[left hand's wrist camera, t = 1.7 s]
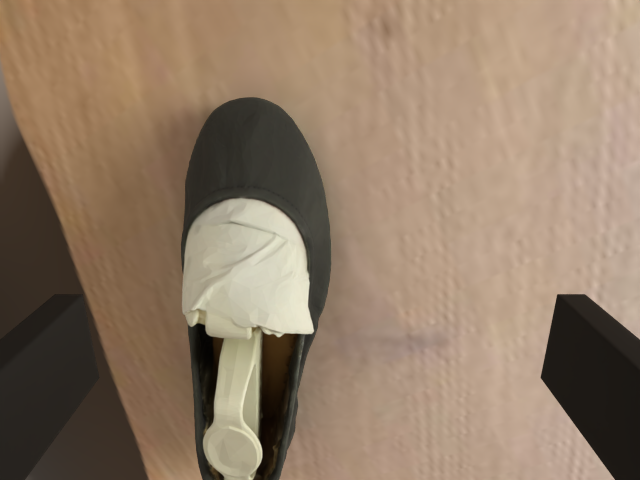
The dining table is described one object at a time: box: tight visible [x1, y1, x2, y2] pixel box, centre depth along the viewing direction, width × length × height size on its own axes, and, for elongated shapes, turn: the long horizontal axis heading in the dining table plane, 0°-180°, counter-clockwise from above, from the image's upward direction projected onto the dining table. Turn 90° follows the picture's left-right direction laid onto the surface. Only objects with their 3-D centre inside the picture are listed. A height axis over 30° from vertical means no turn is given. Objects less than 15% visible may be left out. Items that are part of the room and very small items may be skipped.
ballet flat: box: [181, 97, 331, 480], centre depth 25 cm, size 8×24×8 cm, turn 178°
